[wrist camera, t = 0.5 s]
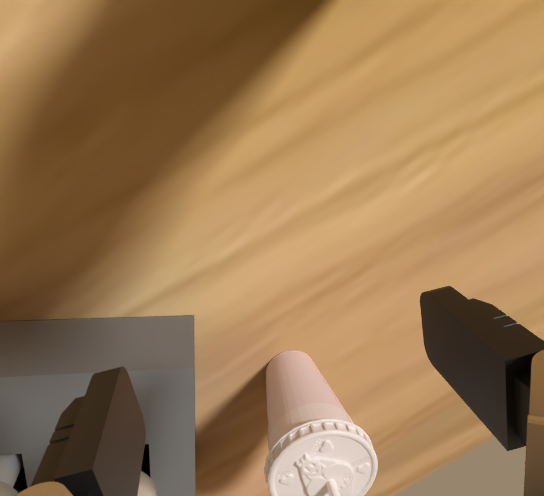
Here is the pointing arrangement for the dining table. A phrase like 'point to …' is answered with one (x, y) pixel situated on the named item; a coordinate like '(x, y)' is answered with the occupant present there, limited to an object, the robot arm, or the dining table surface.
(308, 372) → the smoothie
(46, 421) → the housing
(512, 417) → the robot arm
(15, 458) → the knob middle
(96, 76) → the dining table surface
